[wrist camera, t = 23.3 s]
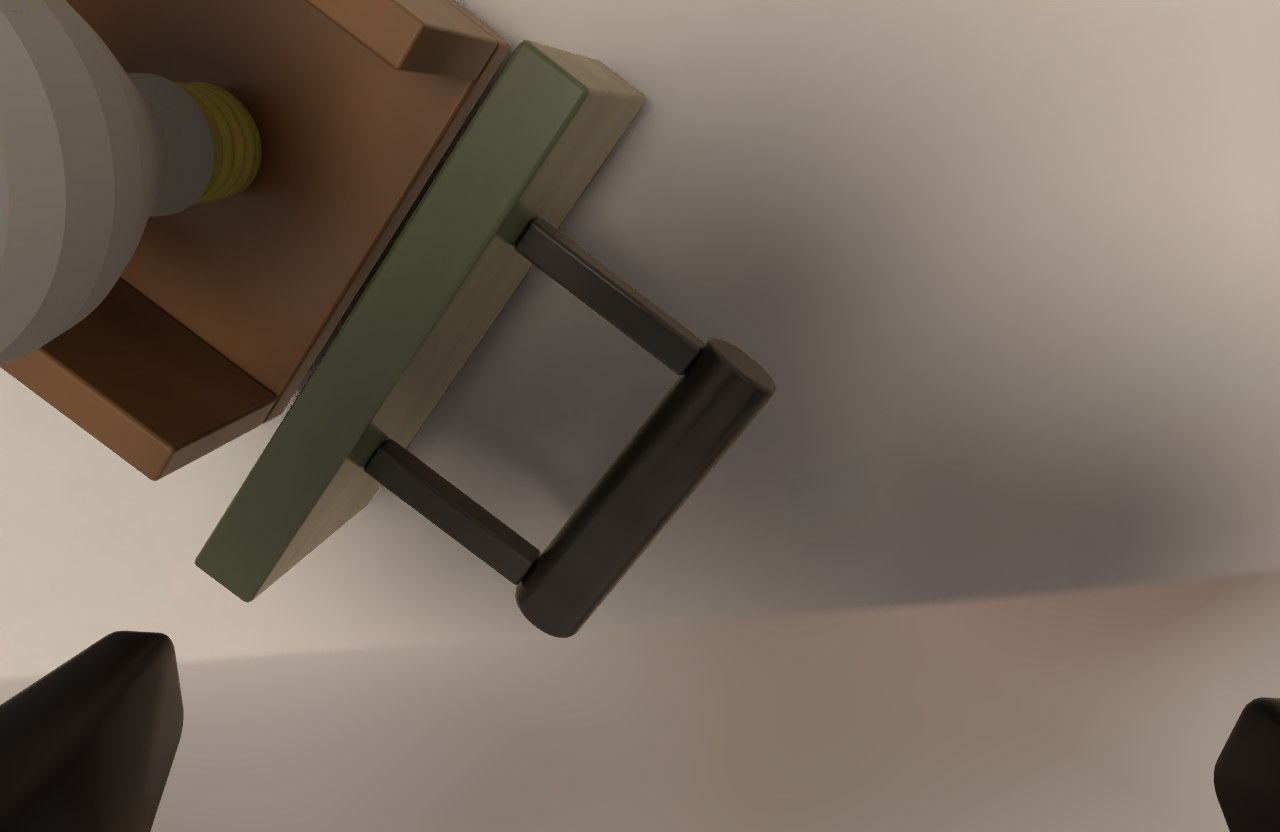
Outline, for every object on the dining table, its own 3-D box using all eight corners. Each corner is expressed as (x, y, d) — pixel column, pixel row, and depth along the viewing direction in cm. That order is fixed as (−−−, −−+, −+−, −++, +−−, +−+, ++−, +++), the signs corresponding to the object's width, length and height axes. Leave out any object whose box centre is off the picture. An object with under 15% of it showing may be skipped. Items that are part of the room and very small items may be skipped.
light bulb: (285, 342, 20) (-205, 539, 11) (57, 181, 20) (-643, 235, 10) (418, 101, 18) (-29, 77, 9) (167, -77, 18) (-555, -294, 9)
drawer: (859, 261, 19) (870, 305, 14) (547, 642, 22) (475, 776, 18) (49, -366, 18) (-209, -528, 14) (-145, 122, 22) (-403, 121, 17)
